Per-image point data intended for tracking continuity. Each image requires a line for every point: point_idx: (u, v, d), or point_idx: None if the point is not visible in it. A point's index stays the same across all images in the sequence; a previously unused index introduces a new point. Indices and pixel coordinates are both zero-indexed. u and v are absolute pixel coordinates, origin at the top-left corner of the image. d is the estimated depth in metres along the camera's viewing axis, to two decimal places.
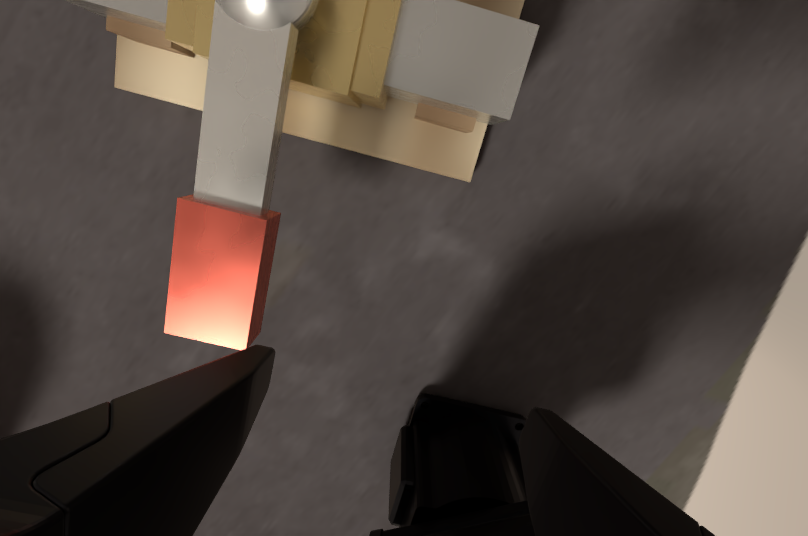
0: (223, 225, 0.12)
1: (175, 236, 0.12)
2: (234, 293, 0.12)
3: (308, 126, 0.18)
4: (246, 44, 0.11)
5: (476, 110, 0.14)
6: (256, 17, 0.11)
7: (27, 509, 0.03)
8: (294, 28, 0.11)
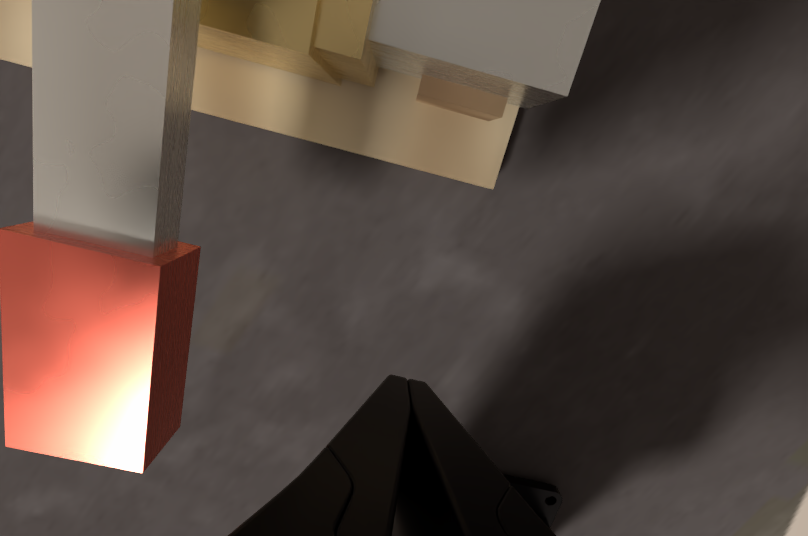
0: (84, 275, 0.07)
1: (3, 294, 0.07)
2: (115, 386, 0.07)
3: (267, 112, 0.13)
4: None
5: (515, 81, 0.09)
6: None
7: None
8: None
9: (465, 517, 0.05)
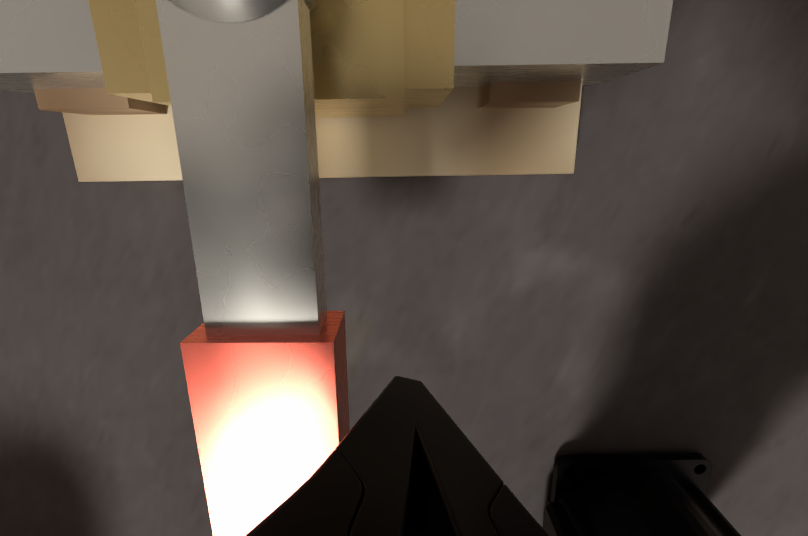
0: (264, 367, 0.07)
1: (193, 402, 0.07)
2: (307, 464, 0.08)
3: (337, 161, 0.13)
4: (228, 54, 0.06)
5: (606, 63, 0.09)
6: None
7: None
8: (303, 4, 0.06)
9: (456, 515, 0.05)
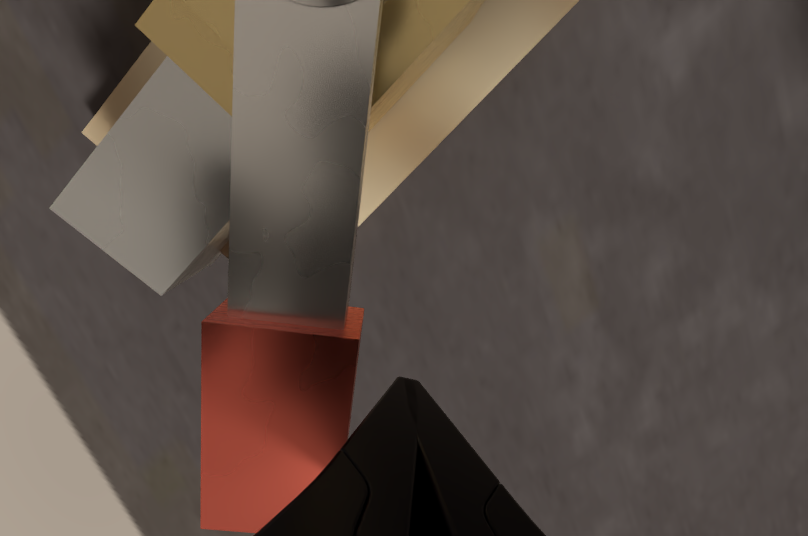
0: (285, 356, 0.07)
1: (204, 383, 0.07)
2: (311, 458, 0.07)
3: (447, 112, 0.12)
4: (301, 37, 0.06)
5: None
6: None
7: None
8: None
9: (452, 514, 0.05)
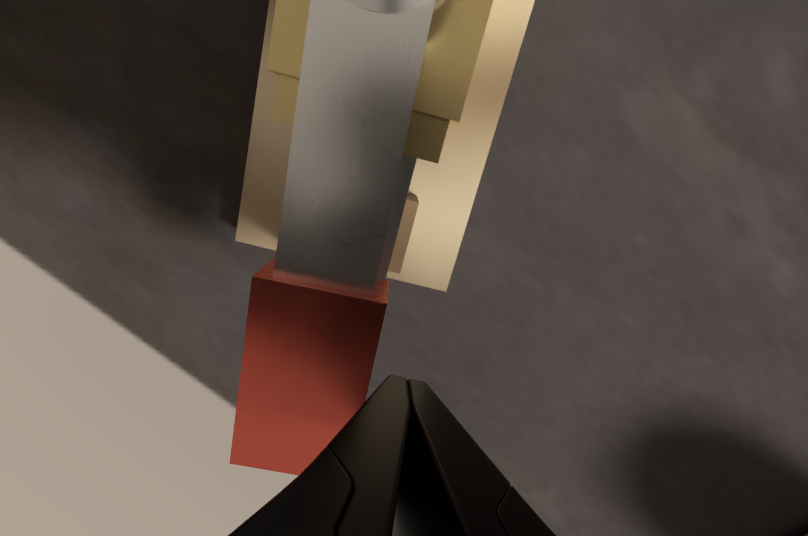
0: (321, 313, 0.08)
1: (248, 332, 0.08)
2: (333, 407, 0.08)
3: (503, 50, 0.13)
4: (362, 37, 0.07)
5: None
6: None
7: None
8: (433, 9, 0.07)
9: (465, 517, 0.05)
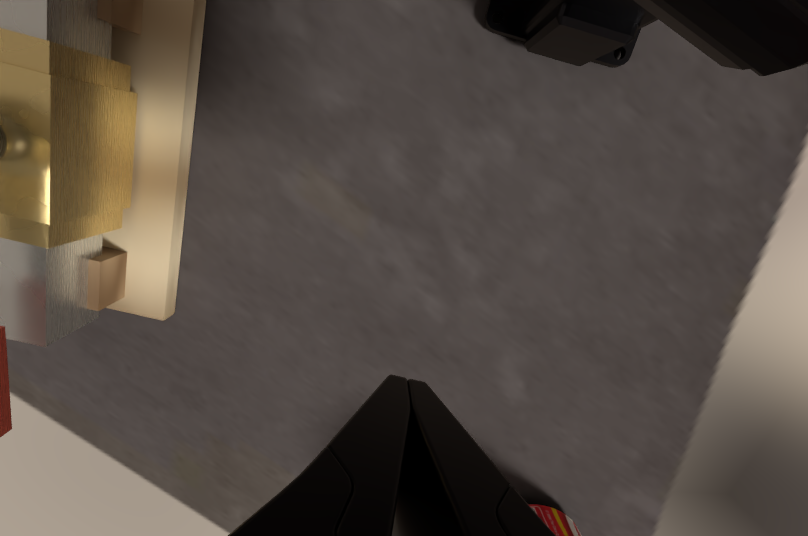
0: None
1: None
2: None
3: (167, 151, 0.18)
4: None
5: None
6: None
7: None
8: None
9: (465, 517, 0.05)
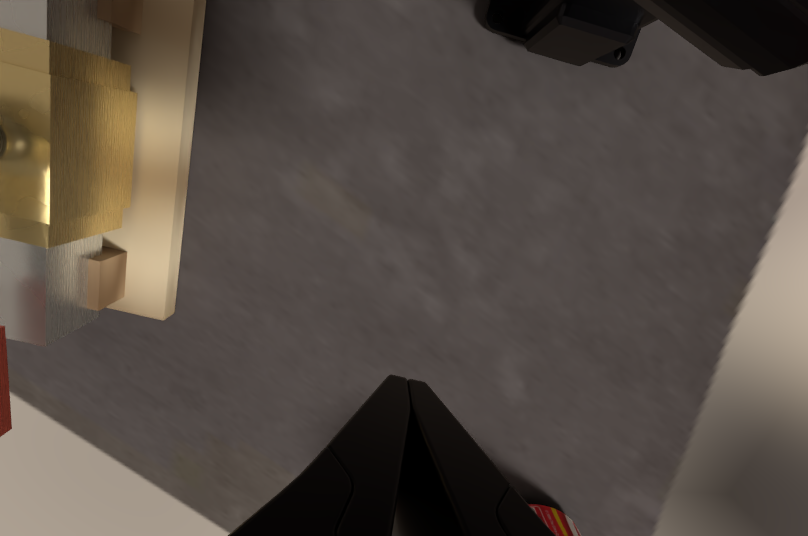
0: None
1: None
2: None
3: (167, 151, 0.18)
4: None
5: None
6: None
7: None
8: None
9: (465, 517, 0.05)
